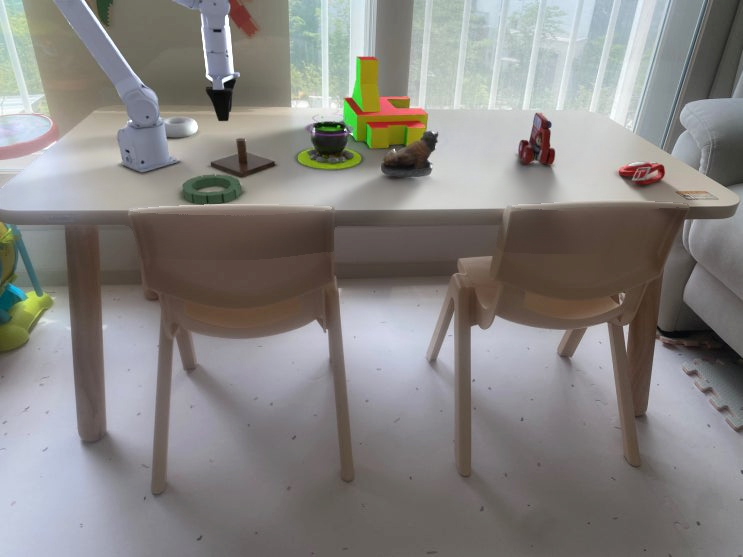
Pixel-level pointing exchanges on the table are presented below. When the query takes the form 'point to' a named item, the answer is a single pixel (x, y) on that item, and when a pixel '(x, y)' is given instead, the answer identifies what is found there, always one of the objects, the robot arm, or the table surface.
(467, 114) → the table surface
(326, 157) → the toy cauldron
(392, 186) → the table surface
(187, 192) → the ring
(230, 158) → the post
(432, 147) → the brown cat figurine
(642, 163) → the tracker holder
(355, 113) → the building blocks toy
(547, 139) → the toy fire truck
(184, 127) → the donut
